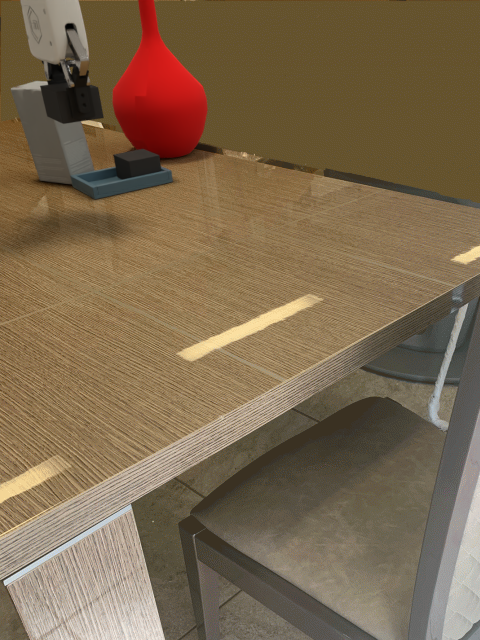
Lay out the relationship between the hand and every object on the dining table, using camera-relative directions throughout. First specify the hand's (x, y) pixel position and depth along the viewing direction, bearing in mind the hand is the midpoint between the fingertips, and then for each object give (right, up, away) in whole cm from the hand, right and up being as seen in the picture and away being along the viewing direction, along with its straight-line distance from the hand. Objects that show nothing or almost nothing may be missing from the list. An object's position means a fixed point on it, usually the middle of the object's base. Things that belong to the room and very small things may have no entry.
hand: (74, 112), depth 92 cm
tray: (0, -1, +24) cm, 24 cm away
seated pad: (+2, 0, +25) cm, 25 cm away
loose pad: (0, 0, 0) cm, 1 cm away
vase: (+4, +12, +41) cm, 43 cm away
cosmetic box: (-12, +1, +26) cm, 29 cm away
